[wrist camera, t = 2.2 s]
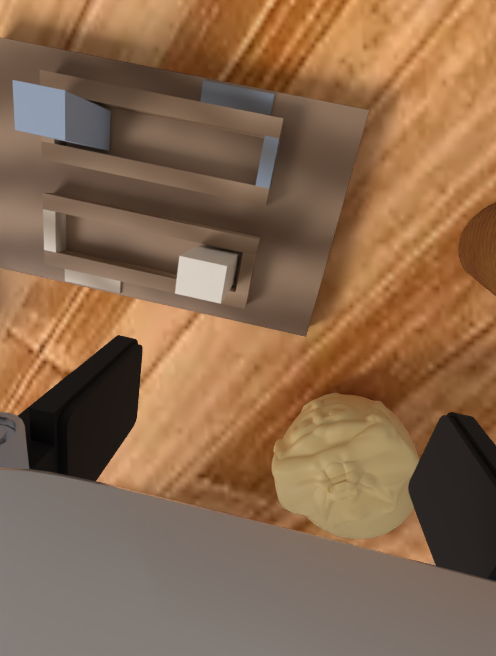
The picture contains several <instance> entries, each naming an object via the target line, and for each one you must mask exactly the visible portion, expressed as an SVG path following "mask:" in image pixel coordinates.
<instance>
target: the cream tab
mask: <svg viewBox="0 0 496 656" xmlns="http://www.w3.org/2000/svg"><path fill="white" fill-rule="evenodd" d="M238 257H239V253H237V252H232V251H227V250H223V249H218V248H214V247H209V246H204V245H198V246H197V247H195V248H193V249H191V250H189V251H187V252H185V253H184V254H182V255H180V256H179V263H178V272H177V280H176V289H175V294H179V295H184V296H188V297H193V298H197V299H202V300H206V301H211V302H215V303H220V304H221V302H222V301H223V299H224V298H225V296H226V295H227V293H228V292H229V290H230V289H231V287H232V286H233V284H234V279H235V273H236V268H237V262H238Z"/></svg>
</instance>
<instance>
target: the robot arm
mask: <svg viewBox="0 0 496 656" xmlns="http://www.w3.org/2000/svg"><path fill="white" fill-rule="evenodd" d="M141 362H142V345H138V342H137V340H136V339H133V338H128V337H124V336H120V335H118V336H116V337H115V338H114V339H112V340H111V341H110V342H109V343H108V344H106V345H105V346H104V347H103V348H101V349H100V350H99V351H98V352H96V353H95V354H94V355H93V356H92V357H90V358H89V359H88V360H87V361H85V362H84V363H83V364H82V365H80V366H79V367H78V368H77V369H76V370H74V371H73V372H71V373H70V374H69V375H68V376H66V377H65V378H64V379H63V380H61V381H60V382H59V383H58V384H57V385H55V386H54V387H53V388H52V389H50V390H49V391H48V392H47V393H45V394H44V395H43V396H42V397H41V398H39V399H38V400H37V401H36V402H34V403H33V404H32V405H31V406H29V407H28V408H27V409H26V410H25V411H23V412H22V413H21V414H20V415H18V416H17V415H14V414H10V413H5V412H0V656H496V445H495V444H494V443H493V442H492V440H491V439H490V438H489V437H488V435H487V434H486V433H485V431H484V430H483V429H482V428H481V426H480V425H479V424H478V423H477V421H476V420H475V419H474V418H473V417H471V416H467V415H462V414H458V413H454V412H450V413H448V414H447V415H443V416H442V417H441V418H440V419H439V421H438V423H437V425H436V428H435V430H434V432H433V434H432V436H431V438H430V440H429V442H428V444H427V446H426V448H425V450H424V452H423V454H422V456H421V458H420V460H419V462H418V464H417V467H416V469H415V471H414V473H413V475H412V477H411V479H410V481H409V485H408V491H409V495H410V498H411V501H412V503H413V506H414V509H415V511H416V514H417V517H418V519H419V522H420V525H421V527H422V530H423V533H424V535H425V538H426V541H427V543H428V546H429V549H430V551H431V554H432V557H433V559H434V562H435V564H436V566H435V565H431V564H427V563H423V562H419V561H415V560H411V559H407V558H403V557H399V556H395V555H391V554H387V553H384V552H380V551H376V550H372V549H368V548H364V547H360V546H356V545H352V544H348V543H344V542H340V541H336V540H332V539H328V538H324V537H320V536H316V535H312V534H308V533H304V532H300V531H296V530H292V529H288V528H284V527H280V526H276V525H272V524H268V523H264V522H260V521H256V520H252V519H248V518H244V517H240V516H236V515H232V514H228V513H224V512H220V511H216V510H212V509H208V508H204V507H200V506H195V505H191V504H187V503H183V502H179V501H175V500H171V499H167V498H163V497H159V496H155V495H150V494H146V493H142V492H138V491H134V490H130V489H126V488H122V487H118V486H114V485H110V484H106V483H101V482H97V481H96V480H97V479H98V477H99V476H100V475H101V473H102V472H103V470H104V469H105V467H106V466H107V464H108V463H109V461H110V460H111V459H112V457H113V456H114V454H115V453H116V451H117V450H118V448H119V447H120V445H121V444H122V442H123V441H124V440H125V438H126V437H127V435H128V434H129V432H130V431H131V429H132V428H133V426H134V424H135V422H136V418H137V410H138V398H139V386H140V374H141Z"/></svg>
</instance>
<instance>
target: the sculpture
mask: <svg viewBox="0 0 496 656" xmlns="http://www.w3.org/2000/svg"><path fill="white" fill-rule="evenodd" d="M418 462H419V457H418V454H417V451H416V448H415V446H414V443H413V441H412V439H411V437H410V435H409V433H408V431H407V429H406V428H405V426H404V425H403V423H402V422H401V421H400V419H399V418H398V417H397V416H396V415H395V414H394V413H393V412H391V411H390V410H389V409H388V408H386V407H385V406H384V404H383V403H382V402H381V401H373V400H371V399H368V398H365V397H361V396H356V395H342V394H339V393H336V392H335V393H331V394H326V395H323V396H321V397H319V398H317V399H314V400H311V401H310V402H308V403H307V404H305V405H304V406H303V408H302V411H301V413H300V414H299V415H298V416H297V418H296V419H295V420H294V421H293V423H292V424H291V425H290V427H289V428H288V430H287V431H286V433H285V435H284V437H283V438H282V439H279V440H277V441H276V442H275V445H274V456H273V459H272V474H273V476H274V480H275V487H276V492H277V496H278V500H279V502H280V504H281V505H282V507H283V508H284V509H286V510H288V511H290V512H292V513H294V514H301V515H304V516H306V517H307V518H308V519H309V520H310V521H312V522H313V523H314V524H315V525H317V526H318V527H320V528H321V529H323V530H325V531H327V532H329V533H331V534H333V535H336V536H339V537H344V538H349V539H368V538H374V537H378V536H381V535H383V534H386V533H388V532H390V531H391V530H393V529H395V528H396V527H397V526H399V525H400V524H401V523H402V522H403V521H404V520H405V519H406V518H407V517H408V516H409V515H410V513H411V512H412V510H413V509H414V506H413V503H412V501H411V498H410V495H409V491H408V485H409V481H410V479H411V477H412V475H413V473H414V471H415V469H416V467H417V464H418Z"/></svg>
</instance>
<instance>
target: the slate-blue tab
mask: <svg viewBox="0 0 496 656" xmlns="http://www.w3.org/2000/svg"><path fill="white" fill-rule="evenodd" d="M12 81H13V101H14V121H15V130H17V131H22V132H26V133H30V134H35V135H39V136H43V137H48V138H52V139H56V140H61V141H65V142H69V143H74V144H79V145H84V146H89V147H93V148H98V149H103V150H108V151H109V145H110V120H111V111H109V110H107V109H105V108H102V107H100V106H98V105H96V104H94V103H91V102H89V101H87V100H85V99H83V98H80V97H78V96H76V95H74V94H72V93H69V92H67V91H65V90H60V89H55V88H50V87H45V86H40V85H36V84H31V83H26V82H21V81H16V80H12Z"/></svg>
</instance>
